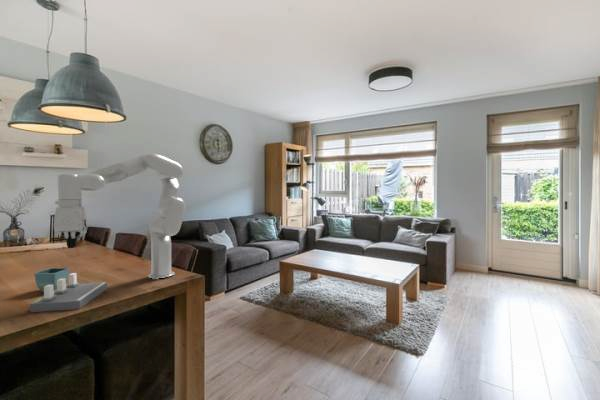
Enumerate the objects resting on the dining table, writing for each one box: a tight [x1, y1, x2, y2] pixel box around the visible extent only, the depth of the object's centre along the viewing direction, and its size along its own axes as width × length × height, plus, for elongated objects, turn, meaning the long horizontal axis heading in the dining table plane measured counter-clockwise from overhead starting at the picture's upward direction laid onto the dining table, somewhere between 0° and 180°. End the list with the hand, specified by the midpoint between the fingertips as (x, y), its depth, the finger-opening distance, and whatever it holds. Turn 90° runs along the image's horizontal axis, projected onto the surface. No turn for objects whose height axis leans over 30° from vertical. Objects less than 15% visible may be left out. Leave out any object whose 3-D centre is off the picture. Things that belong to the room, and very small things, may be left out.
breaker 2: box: [66, 272, 80, 287], centre depth 124 cm, size 4×3×5 cm
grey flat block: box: [29, 281, 108, 313], centre depth 117 cm, size 23×16×3 cm
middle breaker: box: [55, 278, 68, 294], centre depth 116 cm, size 4×3×5 cm
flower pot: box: [34, 267, 70, 293], centre depth 128 cm, size 9×9×9 cm
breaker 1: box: [41, 284, 56, 301], centre depth 109 cm, size 4×3×5 cm
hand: (72, 247), depth 118 cm, fingers closed
